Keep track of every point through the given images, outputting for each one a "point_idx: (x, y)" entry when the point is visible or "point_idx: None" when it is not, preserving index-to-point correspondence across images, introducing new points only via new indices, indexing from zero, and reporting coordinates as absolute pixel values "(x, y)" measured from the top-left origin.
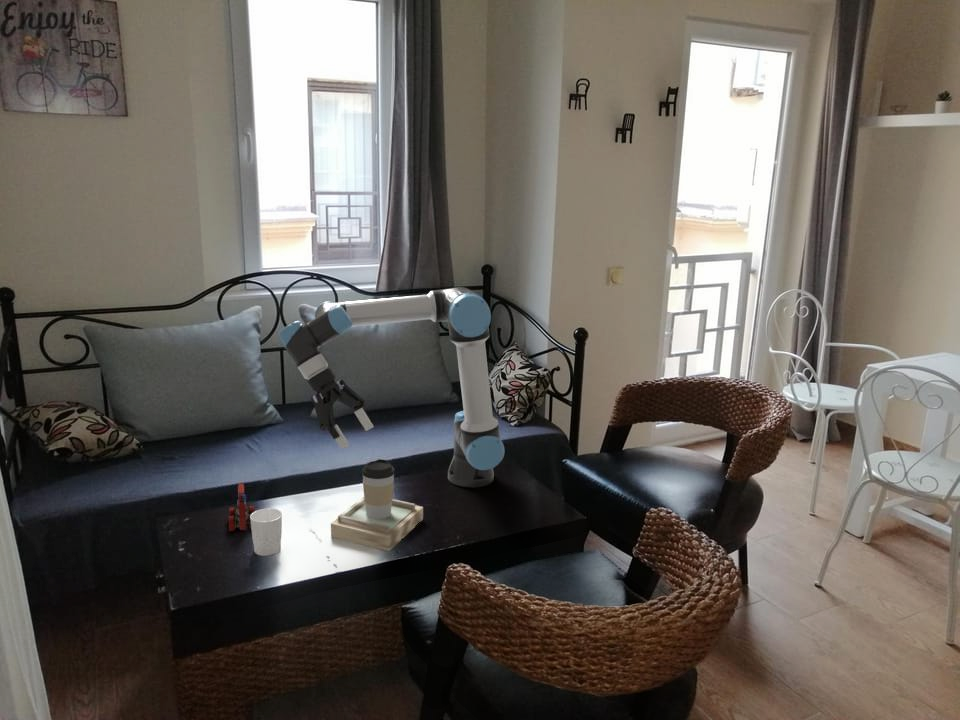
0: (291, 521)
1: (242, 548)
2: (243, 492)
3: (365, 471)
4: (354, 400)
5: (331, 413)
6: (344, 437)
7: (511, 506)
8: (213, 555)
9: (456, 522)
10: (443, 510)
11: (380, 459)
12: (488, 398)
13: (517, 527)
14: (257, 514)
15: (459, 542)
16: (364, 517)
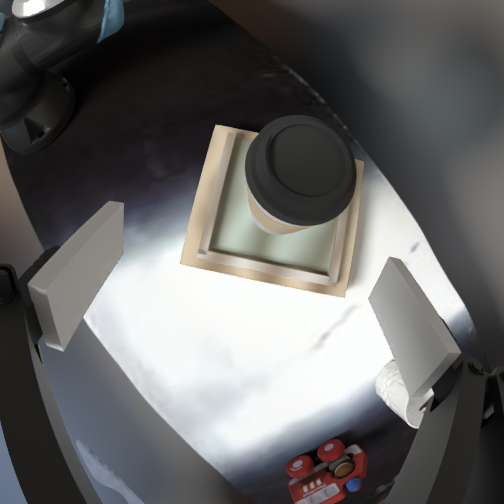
0: (290, 398)
1: (393, 416)
2: (341, 494)
3: (340, 202)
4: (5, 371)
5: (468, 433)
6: (411, 285)
7: (143, 34)
8: (412, 435)
9: (215, 84)
10: (169, 113)
11: (266, 160)
12: None
13: (214, 18)
14: (412, 422)
15: (285, 72)
16: (305, 232)
